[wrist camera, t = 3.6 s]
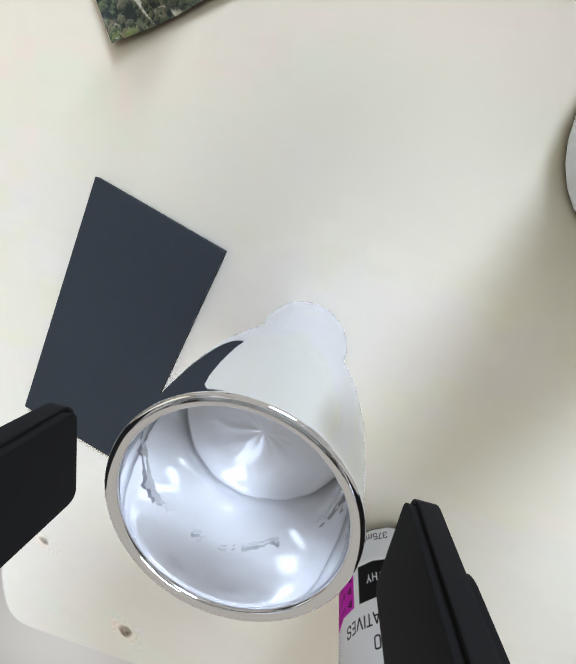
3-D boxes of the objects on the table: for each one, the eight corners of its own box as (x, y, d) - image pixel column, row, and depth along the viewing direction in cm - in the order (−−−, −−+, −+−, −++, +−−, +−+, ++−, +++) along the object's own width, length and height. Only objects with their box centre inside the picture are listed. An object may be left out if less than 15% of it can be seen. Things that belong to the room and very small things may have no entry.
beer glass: (364, 306, 21) (414, 429, 6) (340, 401, 23) (337, 663, 8) (261, 284, 21) (97, 352, 7) (247, 378, 23) (93, 581, 9)
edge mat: (99, 177, 21) (95, 176, 21) (227, 251, 21) (225, 251, 21) (29, 404, 27) (24, 406, 27) (128, 463, 27) (125, 466, 27)
